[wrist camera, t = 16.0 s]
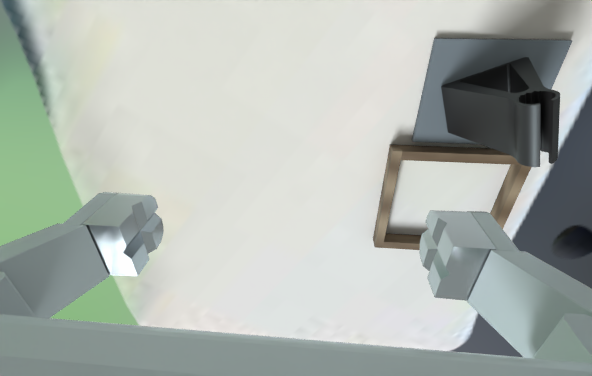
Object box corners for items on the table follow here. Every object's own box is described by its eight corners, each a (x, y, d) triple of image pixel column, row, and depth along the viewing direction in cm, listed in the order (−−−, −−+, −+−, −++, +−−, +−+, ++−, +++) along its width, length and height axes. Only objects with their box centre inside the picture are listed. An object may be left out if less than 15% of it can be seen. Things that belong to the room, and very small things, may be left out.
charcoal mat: (434, 38, 34) (435, 38, 33) (568, 40, 33) (572, 40, 32) (411, 139, 40) (413, 141, 39) (523, 143, 39) (526, 145, 38)
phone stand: (446, 131, 38) (490, 179, 28) (440, 85, 36) (485, 120, 25) (526, 107, 36) (605, 150, 26) (526, 56, 33) (614, 82, 23)
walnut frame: (390, 144, 41) (392, 151, 39) (527, 149, 39) (536, 156, 38) (373, 238, 49) (374, 247, 48) (485, 245, 48) (490, 254, 46)
